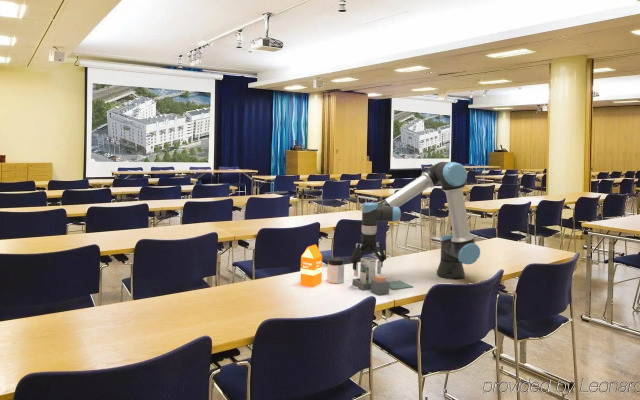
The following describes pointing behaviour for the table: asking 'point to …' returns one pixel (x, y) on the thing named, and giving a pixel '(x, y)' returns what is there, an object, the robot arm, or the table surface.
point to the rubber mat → (398, 285)
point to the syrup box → (367, 270)
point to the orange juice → (311, 267)
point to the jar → (335, 270)
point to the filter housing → (373, 286)
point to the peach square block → (380, 278)
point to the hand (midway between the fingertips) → (367, 275)
